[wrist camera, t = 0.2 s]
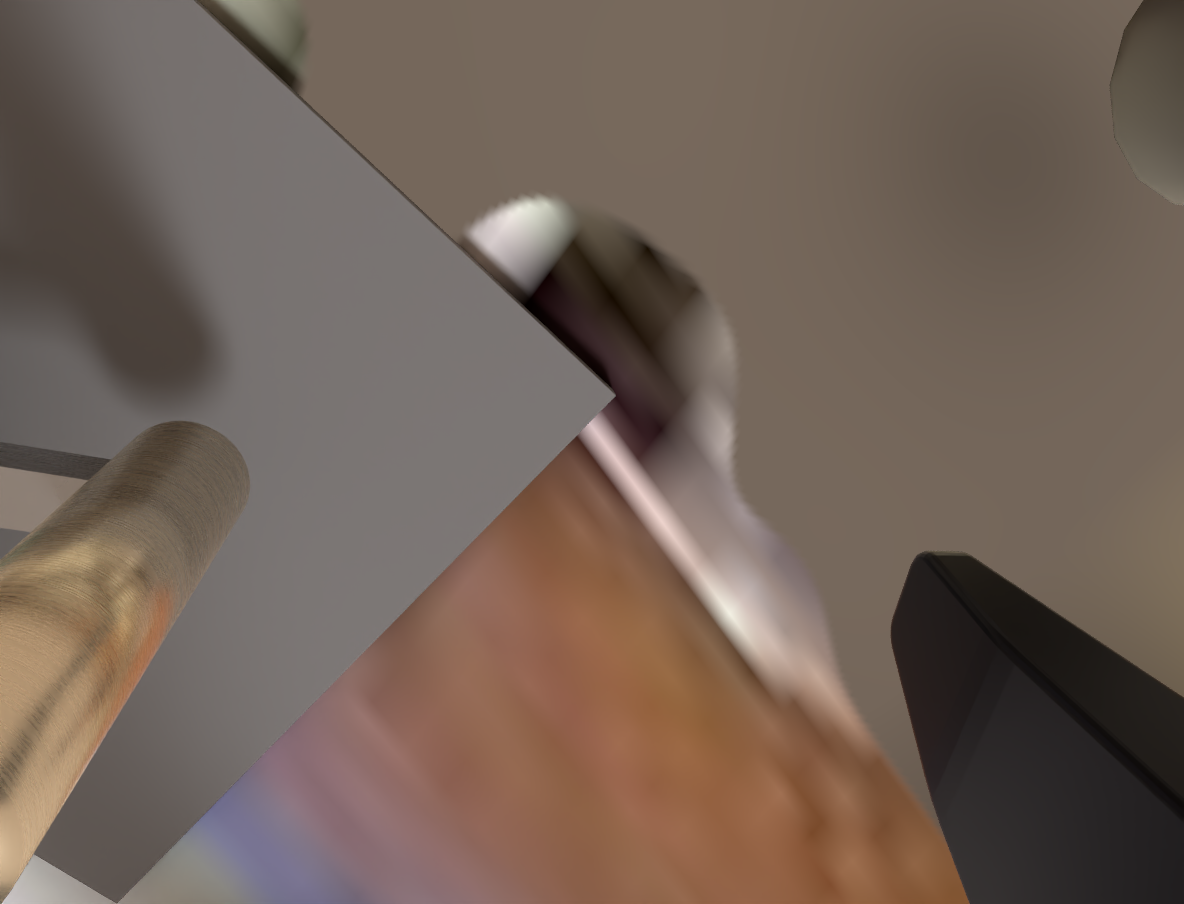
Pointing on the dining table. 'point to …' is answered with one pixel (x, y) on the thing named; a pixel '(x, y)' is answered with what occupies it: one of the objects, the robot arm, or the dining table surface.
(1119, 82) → the candle holder
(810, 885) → the dining table surface
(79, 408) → the mat
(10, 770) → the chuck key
